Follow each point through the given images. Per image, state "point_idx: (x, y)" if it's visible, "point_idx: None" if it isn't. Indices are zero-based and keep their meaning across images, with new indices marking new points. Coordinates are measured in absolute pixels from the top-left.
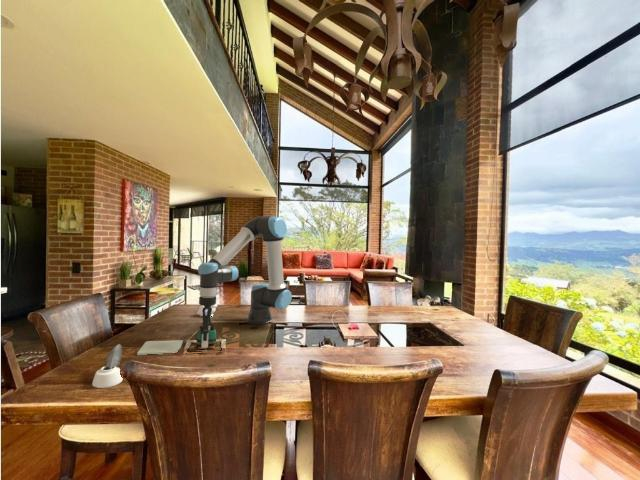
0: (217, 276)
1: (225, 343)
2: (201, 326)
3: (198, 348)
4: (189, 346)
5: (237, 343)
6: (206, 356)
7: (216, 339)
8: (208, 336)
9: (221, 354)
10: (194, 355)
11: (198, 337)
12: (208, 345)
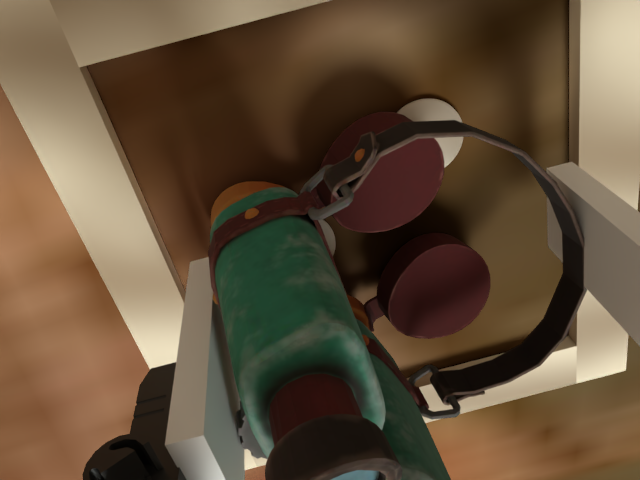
0: None
1: (471, 409)
2: (368, 466)
3: (227, 193)
4: (313, 4)
5: (505, 475)
6: (38, 348)
7: None
8: (250, 450)
9: None
10: (12, 205)
11: (223, 285)
12: (387, 267)
